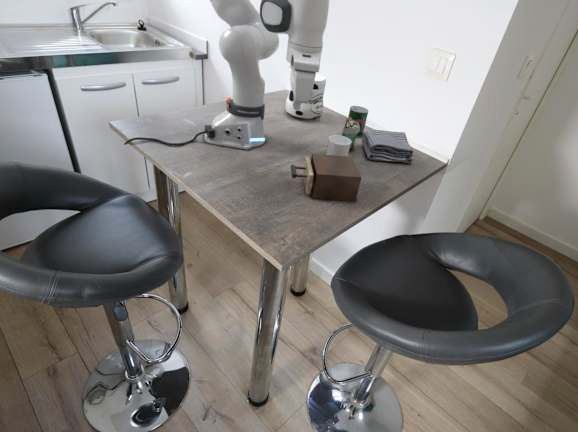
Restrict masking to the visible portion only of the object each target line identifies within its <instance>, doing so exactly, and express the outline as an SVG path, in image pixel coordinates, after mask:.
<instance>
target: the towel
mask: <svg viewBox="0 0 578 432" xmlns="http://www.w3.org/2000/svg"><path fill="white" fill-rule="evenodd" d="M361 145H362V147H363V149H364V152H365V154H366V157H367V159H368V160H371V161H379V162H393V163H406V164H411V163H412V161H413V160H414V157H413V156H414V149H413V147H412V146H411V145H410V143H409V141H408V138H407V134H406V132H404V131H391V130H384V129H383V130H381V129H368V130H366V131H363V138H362V139H361Z"/></svg>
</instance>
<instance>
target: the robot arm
mask: <svg viewBox="0 0 578 432" xmlns="http://www.w3.org/2000/svg"><path fill="white" fill-rule="evenodd" d="M209 2H210V4H211V6H212V7H213V10H214V12H215V14H216V15H217V17H219V18H220V19H221V20H222V21H223V22H225V23H226V24H227V25H228V26H229V27H230V28H228V29H225V30H224V31H223V32H222V33H221V35H220V37H219V41H218V47H219V52H220V55H221V56H222V57H223V59H224V60H225V61H226V63H228V66H229V68H230V72H231V79H232V97H227V98H226V100H225V101H226V110H224V111H222V112H221V113H219V114H217V115H216V116H214V118H213V119H212V122H211V124H207V125H205V124H204V131H200V132H198V133H196V134H195V135H194V137H193V138H192V139H191V140H189V141H186V142H178V143H177V142H176V143H175V142H174V143H173V142H167V141H164V140H161V139H159V138H153V137H142V136H141V137H140V136H139V137H132V138H130V139H128V140H126V141H125V142H124V143H123V145H124V146H125V145H128V144H129V143H131V142H133V141H136V140H137V141H138V140H139V141H142V140H143V141H155V142H158V143H161V144H164V145H166V146H184V145H187V144H190V143H191V144H192V143H193V142H195V141H196V139H198V137H199V136H201V135H203V134H204V141H205V142H206V143H207V144H211V145H216V146H223V147H227V148H228V147H229V148H234V149H241V150H250V149H252V148H255V147H259V146H261V145H264V144H265V142H266V137H265V130H264V119H265V111H266V107H265V105H266V104H265V90H266V89H265V88H266V81H265V79H264V78H263V77H262V75H261V72H260V61H262V60H266V59H269V58H270V57H271V56H273V55H274V54H275V53H276V52H277V51H278V49H279V46H280V38H279V35H287V36H288V38H287V39H288V40H287V49H286V56H285V61H286V62H287V63H289V68H290V77H289V80H290V82H291V85H292V90H293V94H294V100H293V107H294V110H300V106H301V103H308V102H309V100H310V98H311V94H312V90H313V86H314V81H315V76H316V73H319V72H320V67H321V65H320V64H321V58H322V53H323V47H324V41H323V38H324V32H325V31H326V29H327V24H328V17H329V9H330V0H261V1H260V6H259V11H258V10H257V9H256V7H255V6H254V5H253V3H252V2H251V0H209Z"/></svg>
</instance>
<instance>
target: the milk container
mask: <svg viewBox="0 0 578 432" xmlns="http://www.w3.org/2000/svg"><path fill="white" fill-rule="evenodd" d="M326 81H327V78H326V77H325V76H324V75H323V74H320V73H318V72H316V76H315V81H314V86H313V90H312V94H311V98H310V100H309V102H308V103H301V106H300V110H294V107H293V100H294V94H293V90H292V85H291V81H290V82H289V91H288V95H287V97H286V101H285V111H286V113H287V114H288V115H290V116H291V117H292V118H295V119H299V120H306V121H311V120H312V121H313V120H317V119H319V118H320V117H321V116H322V114H323V111H324V94H325V89H326Z"/></svg>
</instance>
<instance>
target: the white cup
mask: <svg viewBox="0 0 578 432" xmlns="http://www.w3.org/2000/svg"><path fill="white" fill-rule="evenodd" d="M350 146H351V140H350V139H349V138H347V137H345V136H342V134H341V135H340V134H333V135H329V136H328V142H327V148H326V155H336V156H347V157H349V153H350V151H349V149H350Z"/></svg>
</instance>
